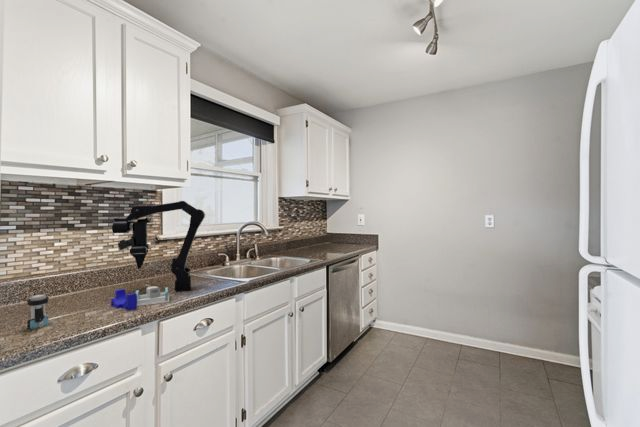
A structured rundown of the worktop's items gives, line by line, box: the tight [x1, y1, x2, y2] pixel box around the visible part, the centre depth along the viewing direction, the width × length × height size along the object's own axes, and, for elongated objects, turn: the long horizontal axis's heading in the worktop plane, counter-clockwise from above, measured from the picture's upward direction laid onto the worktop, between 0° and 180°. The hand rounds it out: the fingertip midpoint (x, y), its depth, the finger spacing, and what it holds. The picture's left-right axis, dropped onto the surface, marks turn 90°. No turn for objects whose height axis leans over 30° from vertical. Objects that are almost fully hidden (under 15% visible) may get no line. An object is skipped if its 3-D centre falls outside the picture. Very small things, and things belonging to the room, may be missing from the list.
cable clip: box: [110, 288, 138, 311], centre depth 121 cm, size 12×4×6 cm, turn 53°
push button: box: [26, 294, 54, 330], centre depth 102 cm, size 7×5×10 cm
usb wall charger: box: [145, 285, 161, 298], centre depth 129 cm, size 4×7×4 cm, turn 44°
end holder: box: [134, 286, 170, 307], centre depth 129 cm, size 13×10×4 cm
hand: (140, 266), depth 142 cm, fingers open, 9 cm apart
